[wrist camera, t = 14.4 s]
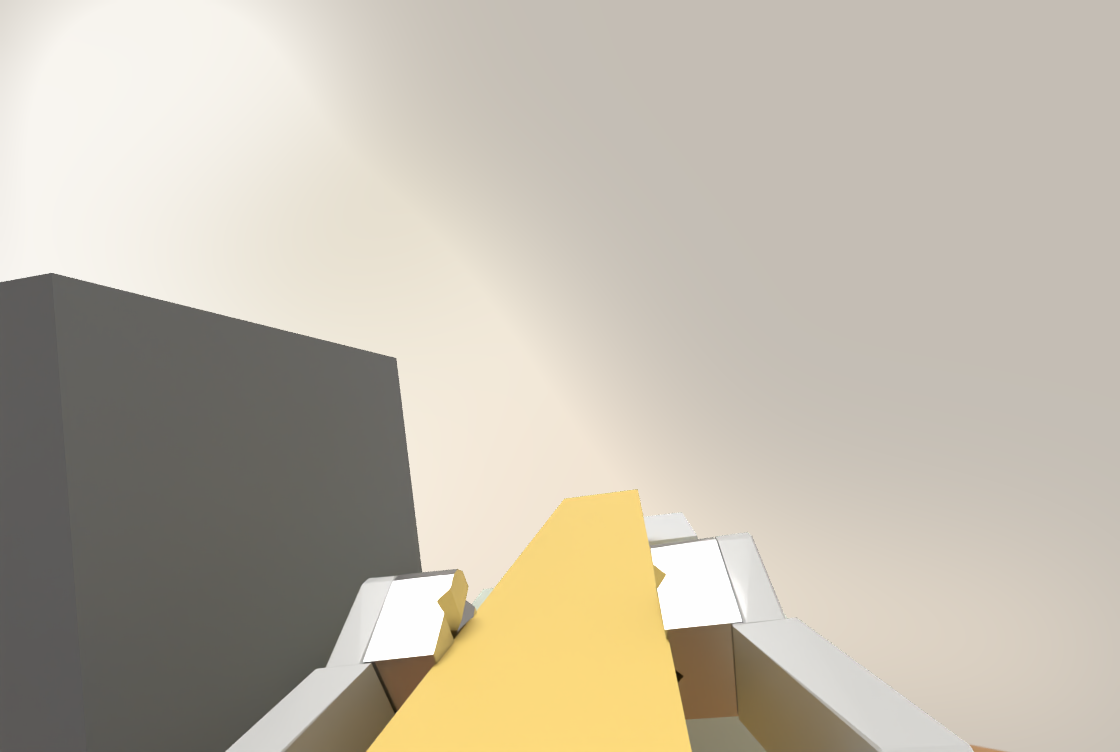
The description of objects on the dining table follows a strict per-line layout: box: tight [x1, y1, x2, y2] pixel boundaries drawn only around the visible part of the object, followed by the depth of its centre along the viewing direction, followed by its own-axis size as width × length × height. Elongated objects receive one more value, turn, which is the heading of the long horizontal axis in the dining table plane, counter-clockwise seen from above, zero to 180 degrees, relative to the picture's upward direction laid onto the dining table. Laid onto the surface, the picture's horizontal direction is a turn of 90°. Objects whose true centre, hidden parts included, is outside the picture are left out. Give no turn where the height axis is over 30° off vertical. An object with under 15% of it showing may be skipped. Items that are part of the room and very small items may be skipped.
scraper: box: [366, 489, 698, 752], centre depth 16 cm, size 26×7×3 cm, turn 174°
